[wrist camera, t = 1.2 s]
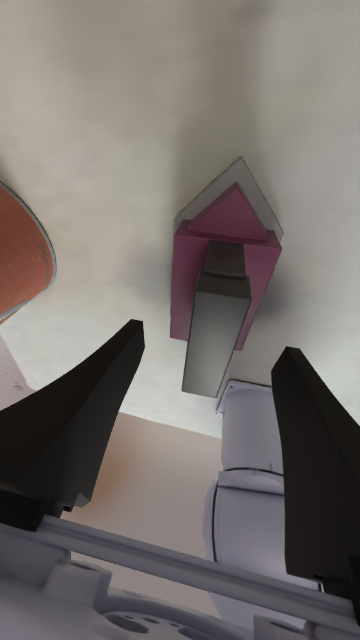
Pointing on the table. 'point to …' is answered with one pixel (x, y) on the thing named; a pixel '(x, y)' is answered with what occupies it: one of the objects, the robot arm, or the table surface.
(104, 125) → the table surface
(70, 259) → the table surface
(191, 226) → the iron
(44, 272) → the canned food
